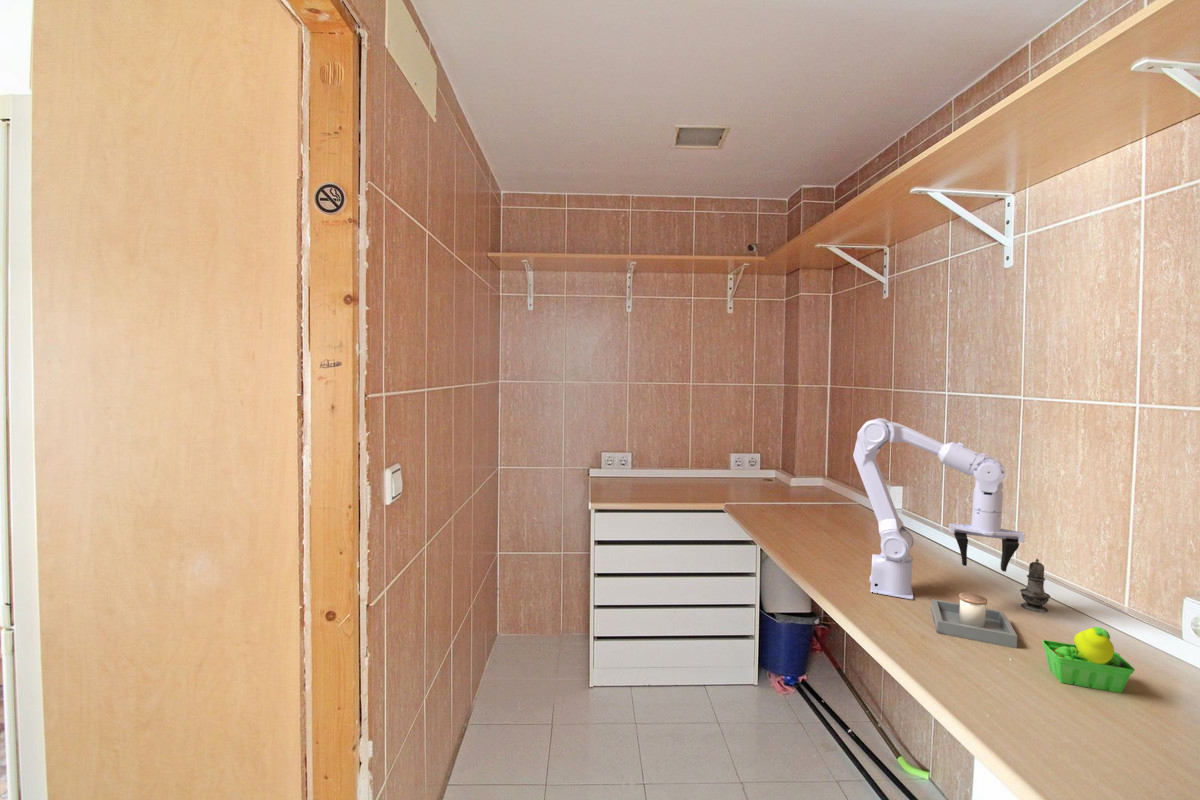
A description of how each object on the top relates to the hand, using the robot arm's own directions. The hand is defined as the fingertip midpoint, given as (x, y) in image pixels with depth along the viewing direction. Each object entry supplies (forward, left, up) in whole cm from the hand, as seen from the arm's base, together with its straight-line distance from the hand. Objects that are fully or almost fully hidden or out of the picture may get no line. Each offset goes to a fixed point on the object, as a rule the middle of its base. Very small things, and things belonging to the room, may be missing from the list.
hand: (983, 567), depth 134 cm
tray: (-4, -12, -10) cm, 16 cm away
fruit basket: (+12, -29, -11) cm, 33 cm away
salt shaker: (+12, +9, -11) cm, 18 cm away
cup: (-3, -12, -10) cm, 16 cm away
